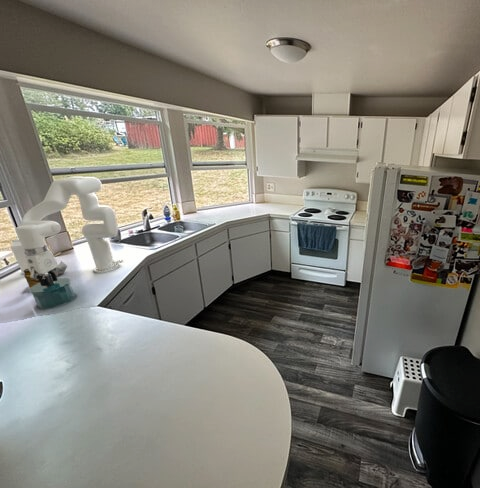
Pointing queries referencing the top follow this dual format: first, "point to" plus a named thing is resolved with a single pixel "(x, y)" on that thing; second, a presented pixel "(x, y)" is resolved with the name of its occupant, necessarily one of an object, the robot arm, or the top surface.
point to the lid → (53, 285)
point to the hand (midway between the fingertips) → (49, 282)
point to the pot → (54, 297)
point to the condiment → (30, 280)
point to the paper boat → (60, 268)
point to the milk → (19, 254)
